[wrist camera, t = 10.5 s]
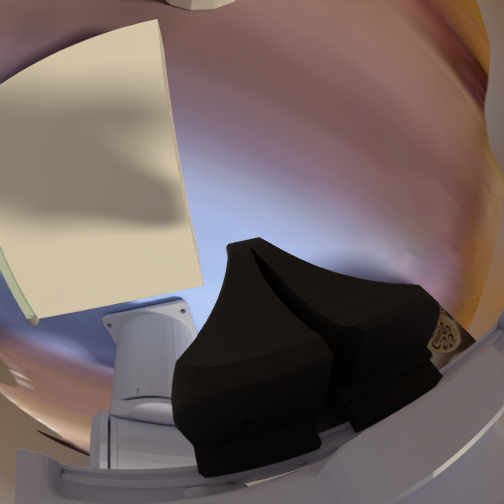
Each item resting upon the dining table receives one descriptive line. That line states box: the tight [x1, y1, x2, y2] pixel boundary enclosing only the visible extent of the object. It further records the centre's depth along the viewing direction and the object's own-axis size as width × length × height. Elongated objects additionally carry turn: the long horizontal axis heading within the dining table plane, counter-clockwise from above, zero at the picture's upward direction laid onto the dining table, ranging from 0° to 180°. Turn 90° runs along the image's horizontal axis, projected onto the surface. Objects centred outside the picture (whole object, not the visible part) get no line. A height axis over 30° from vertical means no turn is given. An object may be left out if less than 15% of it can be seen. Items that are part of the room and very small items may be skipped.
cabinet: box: [0, 19, 204, 319], centre depth 13 cm, size 14×12×6 cm
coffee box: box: [427, 305, 476, 370], centre depth 25 cm, size 9×6×16 cm
